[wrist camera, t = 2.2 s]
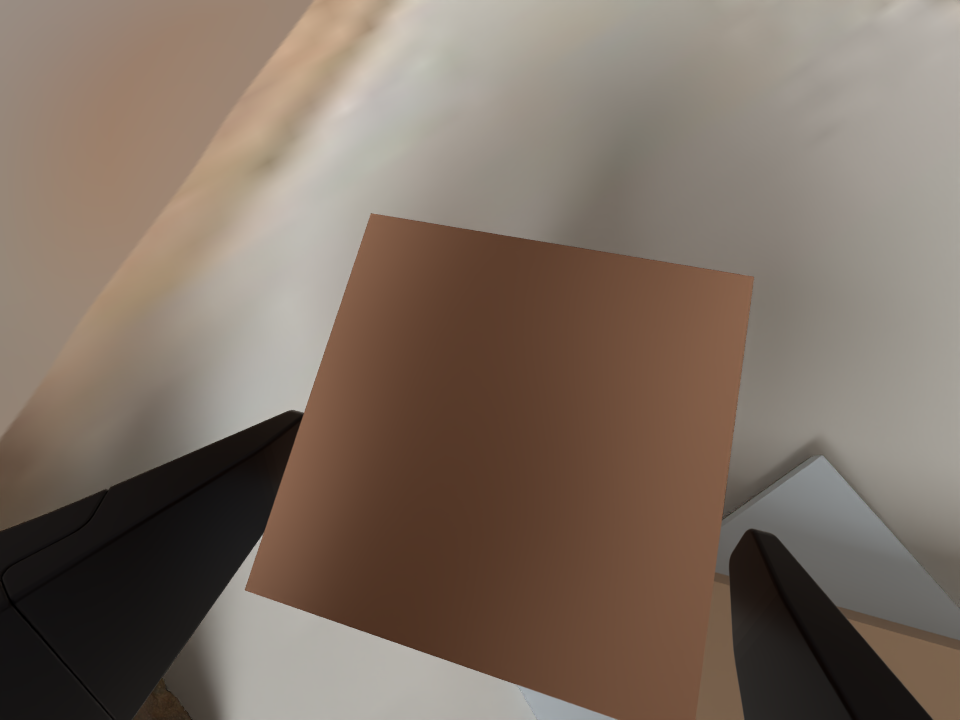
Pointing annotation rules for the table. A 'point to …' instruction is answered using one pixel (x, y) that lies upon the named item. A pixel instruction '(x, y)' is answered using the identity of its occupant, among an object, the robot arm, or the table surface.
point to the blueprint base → (828, 594)
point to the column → (518, 463)
